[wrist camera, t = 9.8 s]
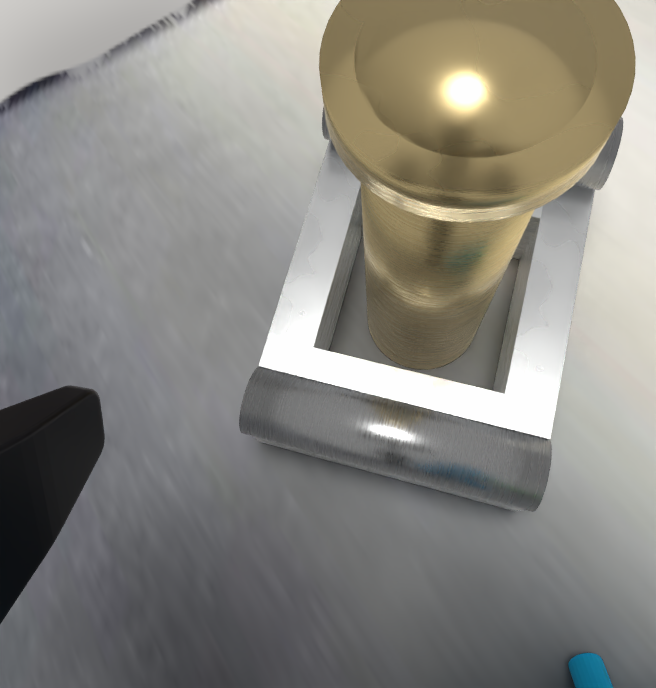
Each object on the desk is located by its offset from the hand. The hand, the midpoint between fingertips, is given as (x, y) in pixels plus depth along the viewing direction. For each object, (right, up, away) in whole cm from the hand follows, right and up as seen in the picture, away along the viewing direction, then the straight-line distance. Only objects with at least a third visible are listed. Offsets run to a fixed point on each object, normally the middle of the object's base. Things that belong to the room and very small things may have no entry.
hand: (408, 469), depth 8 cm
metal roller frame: (+2, +3, +14) cm, 15 cm away
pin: (+2, +3, +14) cm, 15 cm away
